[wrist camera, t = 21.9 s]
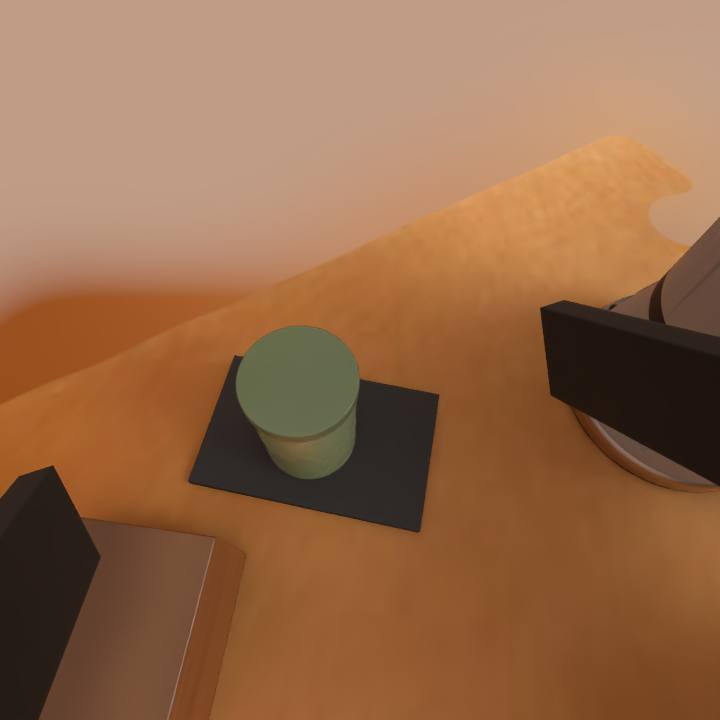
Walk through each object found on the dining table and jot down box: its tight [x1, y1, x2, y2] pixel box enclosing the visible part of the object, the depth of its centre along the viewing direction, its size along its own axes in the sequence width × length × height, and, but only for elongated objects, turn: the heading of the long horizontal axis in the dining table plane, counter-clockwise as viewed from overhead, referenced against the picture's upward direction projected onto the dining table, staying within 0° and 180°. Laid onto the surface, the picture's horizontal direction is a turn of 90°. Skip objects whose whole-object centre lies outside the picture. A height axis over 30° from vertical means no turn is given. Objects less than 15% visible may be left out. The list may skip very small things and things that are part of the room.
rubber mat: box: [188, 355, 439, 532], centre depth 35 cm, size 16×10×1 cm, turn 78°
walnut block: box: [39, 517, 246, 720], centre depth 26 cm, size 10×10×8 cm
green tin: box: [236, 326, 360, 479], centre depth 30 cm, size 7×7×10 cm
